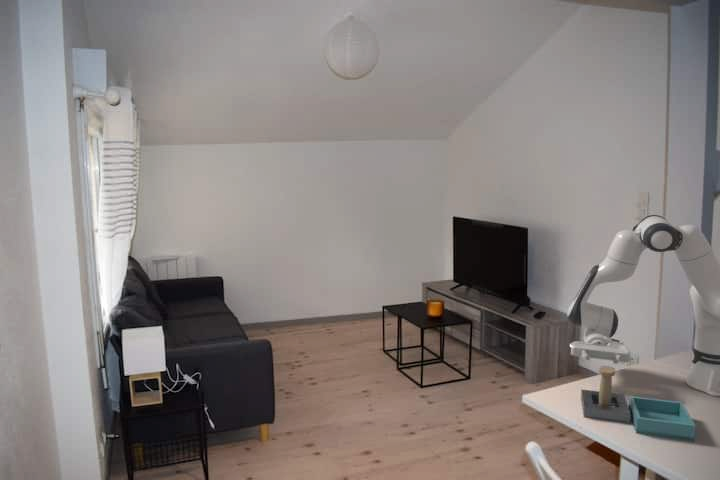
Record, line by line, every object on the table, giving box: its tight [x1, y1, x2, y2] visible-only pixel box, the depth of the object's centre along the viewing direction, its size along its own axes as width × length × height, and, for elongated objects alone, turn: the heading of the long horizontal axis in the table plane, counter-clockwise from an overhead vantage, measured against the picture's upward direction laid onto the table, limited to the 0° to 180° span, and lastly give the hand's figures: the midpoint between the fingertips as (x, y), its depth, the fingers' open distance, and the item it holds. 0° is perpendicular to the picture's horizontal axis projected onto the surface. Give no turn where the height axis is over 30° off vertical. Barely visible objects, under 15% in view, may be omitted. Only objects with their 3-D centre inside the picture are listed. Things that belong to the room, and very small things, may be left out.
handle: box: [598, 365, 616, 406], centre depth 183 cm, size 5×6×15 cm
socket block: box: [580, 388, 631, 424], centre depth 184 cm, size 14×14×4 cm
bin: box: [628, 395, 696, 442], centre depth 174 cm, size 16×16×5 cm
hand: (601, 359), depth 193 cm, fingers open, 8 cm apart
